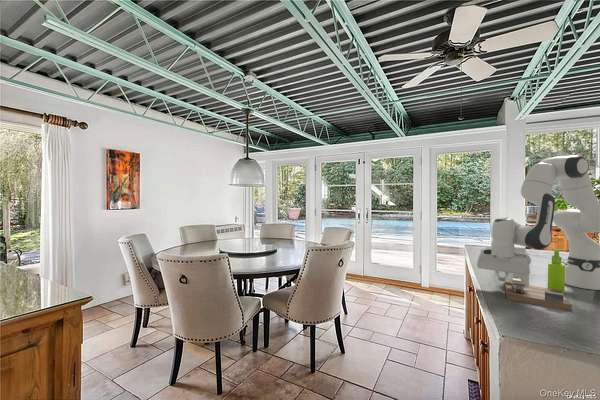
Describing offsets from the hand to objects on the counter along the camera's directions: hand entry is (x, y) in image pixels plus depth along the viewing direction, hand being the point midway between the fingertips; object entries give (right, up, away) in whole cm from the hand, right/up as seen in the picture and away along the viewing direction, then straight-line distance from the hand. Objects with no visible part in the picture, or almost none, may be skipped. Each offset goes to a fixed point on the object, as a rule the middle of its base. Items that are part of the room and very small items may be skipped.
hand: (501, 280), depth 130 cm
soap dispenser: (+26, -5, -1) cm, 26 cm away
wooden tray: (+7, -4, -10) cm, 13 cm away
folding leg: (+3, -2, -6) cm, 7 cm away
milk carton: (+15, -5, +9) cm, 18 cm away
